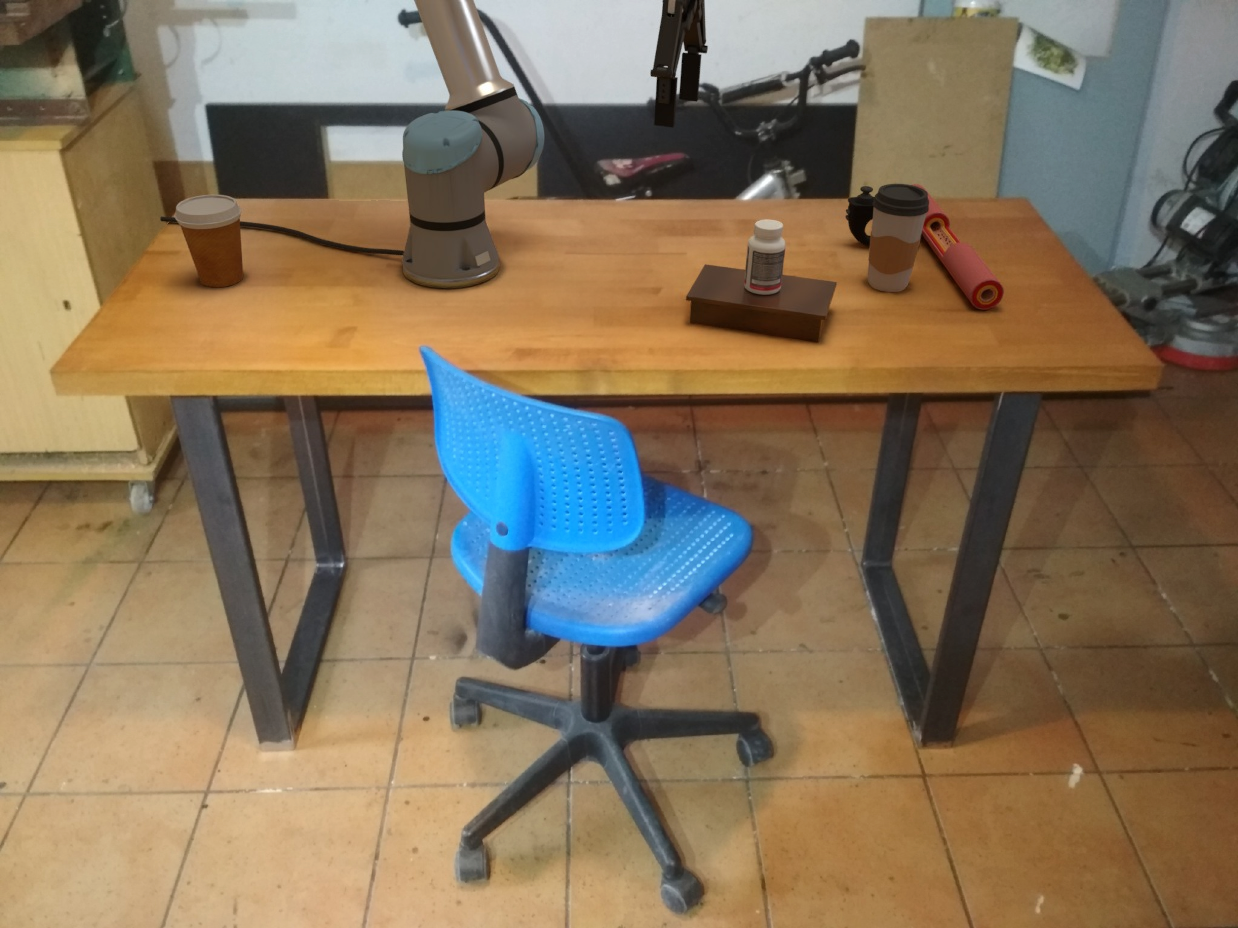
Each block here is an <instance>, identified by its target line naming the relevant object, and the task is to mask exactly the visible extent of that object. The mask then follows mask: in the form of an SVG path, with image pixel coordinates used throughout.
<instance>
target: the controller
mask: <svg viewBox="0 0 1238 928" xmlns="http://www.w3.org/2000/svg"><path fill="white" fill-rule="evenodd" d="M859 189H860V192H862V193H860V194H858V195H857V196H851V197H849V198H847V203H848V206H847V209H845V213H846V214H845V216H844V217H845V219H846V221H847V223H848V229H849V231H850V233H851V235H852V236H853V238H854V239H855V240H856V241H857V242H858V243H860V244H862V245H864V246H866V247H870V236H871V235H869V234H867V232H866V227H867V225H868V224H869V222H871V221H873V209H874V206H873V202H874V198H875V196H873V195H872V194H871V193H873V191H874V188H873V187H872V186H869V185H864V186H863V185H862V186H860V188H859Z"/></svg>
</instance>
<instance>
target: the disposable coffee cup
mask: <svg viewBox="0 0 1238 928" xmlns="http://www.w3.org/2000/svg"><path fill="white" fill-rule="evenodd" d="M237 201H238V200H237V199H235V198H234V197H232V196H229V195H225V194H204V195H203V194H202V195H201V194H200V195H197V196H192V197H188V198H186V199H183V200H181V201H179V202H178V203H177V204H176V206H175V213H174V217H175V219H176V220H177V221H178V222H177V223H178V225H179V227H180V229H181V232H182V235H183V237H184V240H185V242H186V245H187V248H188V250H189V253H190V256H191V260H192V262H193V264H194V267H195V269H196V273H197V275H198V278H199V280H200V281H199V282H200V283H201V284H202V285H203V286H205V287H210V288H224V287H225V288H226V287H228V286H232V285H235V284H238V283H240V282H241V281H242V280H243V279H244V269H243V268H244V267H243V252H242V235H241V234H242V233H241V226H240V221H241V214H242V208H241V206H240V205H239V204H238V202H237Z"/></svg>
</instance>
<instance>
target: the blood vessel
mask: <svg viewBox="0 0 1238 928" xmlns="http://www.w3.org/2000/svg"><path fill="white" fill-rule="evenodd" d="M911 185H913V186H917V187H920V188H922V189H924V190H925V191H927V189H926V188H925V186H923V185H921V184H919V183H913V184H911ZM927 193H928V199H929V211H928V212H927V213H926V217H925V221H924V225H923V229H922V233H921V236H922V237H923V238H924V240H925V241H926V243H927V244H928V245H929V247H930V248H931V249H932V251H933V252H934V253H935V255H936V257H937V258H938V259H939V260H940V262H941V263H942V265H943V266H944V267H945V269H946V270H947V272H948V273H949V274H950V276H951V277H952V278H953V280H954V281H955V283H956V284H957V286H958V287H959V288H960V289H961V291H962V292H963V294H964V295H965V296H966V298H967V299H968V301H969V302H970V303H971V305H972V306H973V307H974V308H975V309H978V310H981V311H982V310H983V311H984V310H986V311H987V310H990V309H993V308H994V307H997V306H998V305H999V304H1000V302H1001V301H1002V299H1003V298H1004V294H1005V293H1004V292H1005V290H1004V289H1005V288H1004V286H1003V284H1002V282H1001V281H1000V280H999V279H998V278H997V276H996V275H995V274H994V273H993V271H992V270H991V269H990V268H989V266H988V265H987V264H986V263H985V261H984V260H983V259H982V258H981V257H980V255H979V254H978V253H977V251H976V250H975V248H973V246H972V245H971V244H970V243H967V242H962V241H961V240H960V239H959V237H958V236H957V235H956V234H955V232H954V231H953V230H952V229H951V222H950V218H949V217H948V216H947V214H946V213H945V211H944V210H943V209H942V208H941V206H940V205H939V204H938V203H937V202H936V200H935V199H934V198H933V197H932V195H931V194H930V193H929V192H928V191H927Z"/></svg>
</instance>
